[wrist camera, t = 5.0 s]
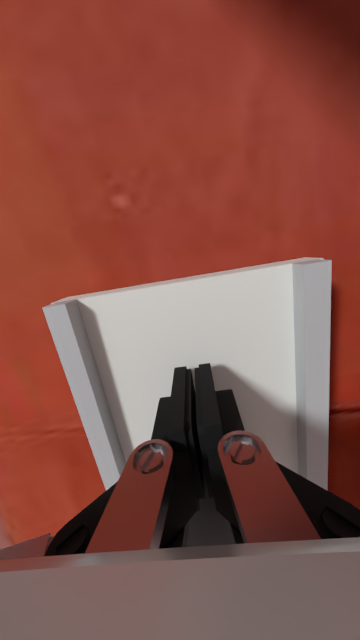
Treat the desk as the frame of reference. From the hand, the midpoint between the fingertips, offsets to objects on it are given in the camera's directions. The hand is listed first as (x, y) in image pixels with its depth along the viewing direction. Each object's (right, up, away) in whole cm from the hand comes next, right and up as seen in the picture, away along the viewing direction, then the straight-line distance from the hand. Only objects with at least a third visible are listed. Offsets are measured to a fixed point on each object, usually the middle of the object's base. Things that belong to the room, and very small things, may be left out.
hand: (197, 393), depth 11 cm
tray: (+2, -8, +5) cm, 9 cm away
